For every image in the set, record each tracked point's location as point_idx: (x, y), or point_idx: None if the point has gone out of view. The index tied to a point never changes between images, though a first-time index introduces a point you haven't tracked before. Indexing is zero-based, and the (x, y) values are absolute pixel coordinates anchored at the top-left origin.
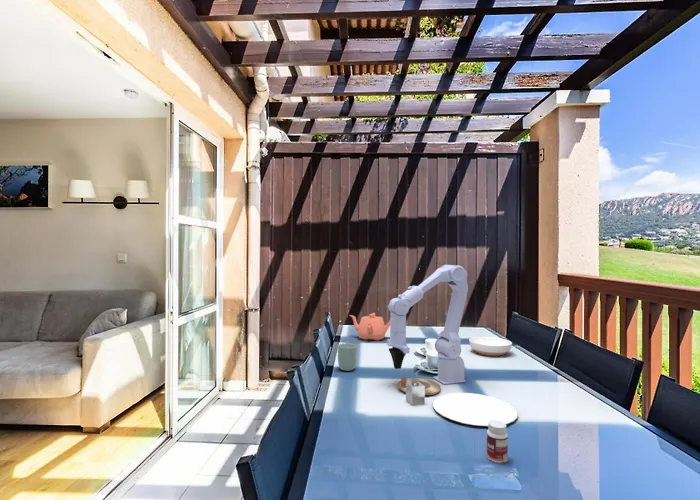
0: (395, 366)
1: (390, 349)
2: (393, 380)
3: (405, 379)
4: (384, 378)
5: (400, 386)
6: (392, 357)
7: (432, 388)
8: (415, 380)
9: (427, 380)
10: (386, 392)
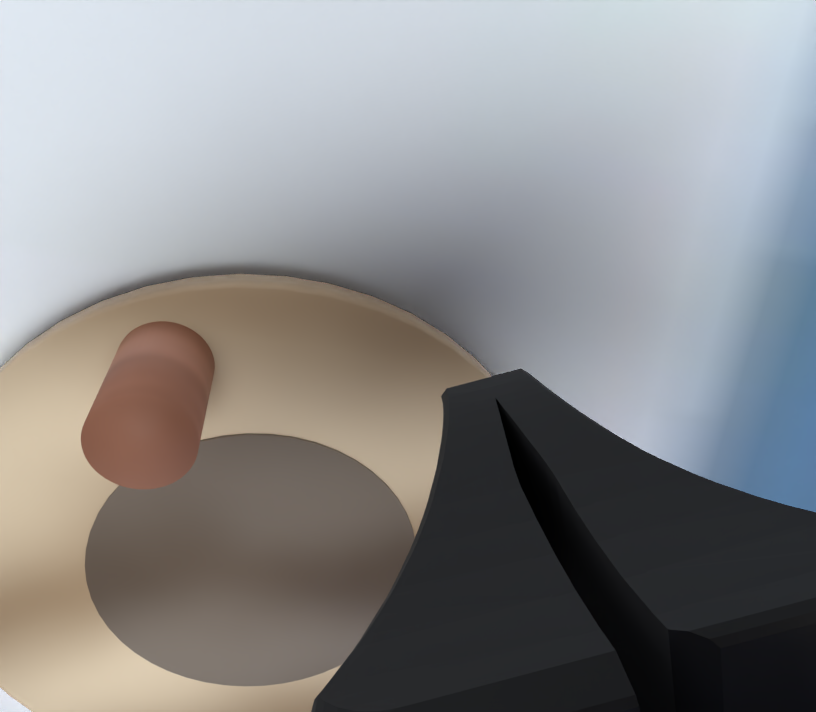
0: (447, 411)
1: (778, 652)
2: (675, 260)
3: (88, 458)
4: (806, 130)
5: (182, 315)
6: (618, 480)
7: (123, 689)
8: None
9: None
10: (112, 36)
